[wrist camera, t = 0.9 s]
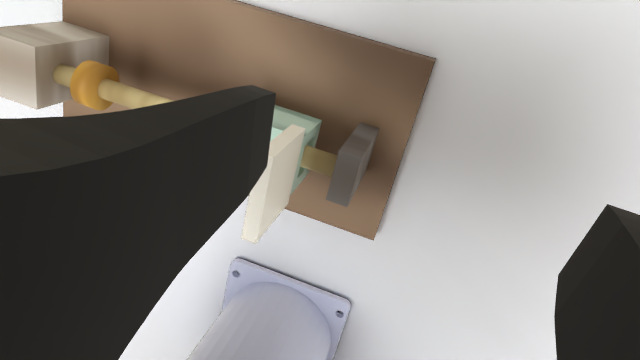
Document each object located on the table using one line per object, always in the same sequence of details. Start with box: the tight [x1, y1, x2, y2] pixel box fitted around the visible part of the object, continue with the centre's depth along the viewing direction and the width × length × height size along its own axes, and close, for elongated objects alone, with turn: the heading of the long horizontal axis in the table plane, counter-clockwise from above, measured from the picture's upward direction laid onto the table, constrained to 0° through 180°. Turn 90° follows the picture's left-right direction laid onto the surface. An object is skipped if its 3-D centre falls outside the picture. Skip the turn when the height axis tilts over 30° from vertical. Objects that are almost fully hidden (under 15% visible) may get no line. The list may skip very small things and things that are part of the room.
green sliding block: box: [241, 105, 322, 244], centre depth 20 cm, size 4×4×6 cm
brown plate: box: [0, 0, 436, 240], centre depth 23 cm, size 10×20×6 cm, turn 76°
